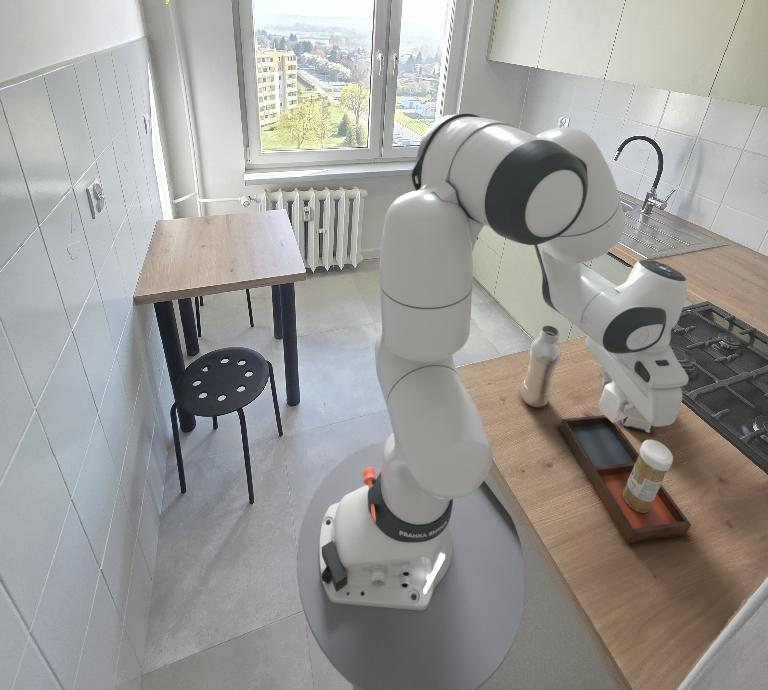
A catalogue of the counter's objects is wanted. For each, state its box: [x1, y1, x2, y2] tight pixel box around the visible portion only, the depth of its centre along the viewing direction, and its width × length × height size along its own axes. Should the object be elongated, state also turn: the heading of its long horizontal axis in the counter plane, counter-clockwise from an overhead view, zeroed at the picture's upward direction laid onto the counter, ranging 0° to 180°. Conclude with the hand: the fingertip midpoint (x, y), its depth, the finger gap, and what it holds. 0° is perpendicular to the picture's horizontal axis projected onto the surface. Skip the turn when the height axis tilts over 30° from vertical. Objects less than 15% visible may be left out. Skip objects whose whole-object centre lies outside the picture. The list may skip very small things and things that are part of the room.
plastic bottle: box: [520, 324, 562, 408], centre depth 93 cm, size 6×7×20 cm
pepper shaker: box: [597, 380, 628, 423], centre depth 80 cm, size 4×4×10 cm
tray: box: [559, 414, 692, 545], centre depth 80 cm, size 11×22×3 cm, turn 8°
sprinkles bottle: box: [622, 439, 674, 513], centre depth 73 cm, size 5×5×14 cm
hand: (616, 400), depth 80 cm, fingers closed on pepper shaker, 4 cm apart
